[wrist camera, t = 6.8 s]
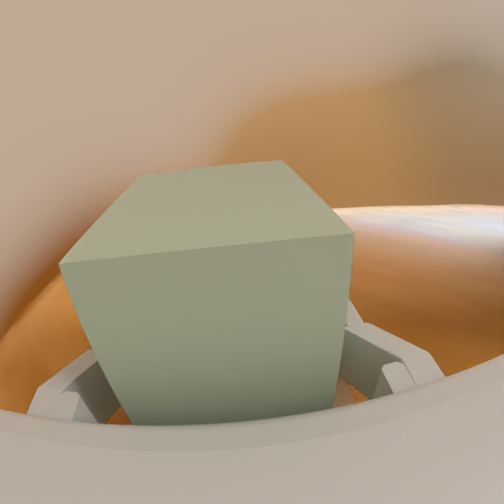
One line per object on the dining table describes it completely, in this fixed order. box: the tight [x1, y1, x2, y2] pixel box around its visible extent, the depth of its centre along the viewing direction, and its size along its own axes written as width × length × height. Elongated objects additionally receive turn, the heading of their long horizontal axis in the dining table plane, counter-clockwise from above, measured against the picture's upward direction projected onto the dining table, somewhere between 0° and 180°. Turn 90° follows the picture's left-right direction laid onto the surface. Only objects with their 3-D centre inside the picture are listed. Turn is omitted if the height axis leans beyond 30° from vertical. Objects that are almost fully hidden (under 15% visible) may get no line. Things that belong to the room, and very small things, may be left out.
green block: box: [59, 160, 354, 425], centre depth 9 cm, size 6×4×10 cm
